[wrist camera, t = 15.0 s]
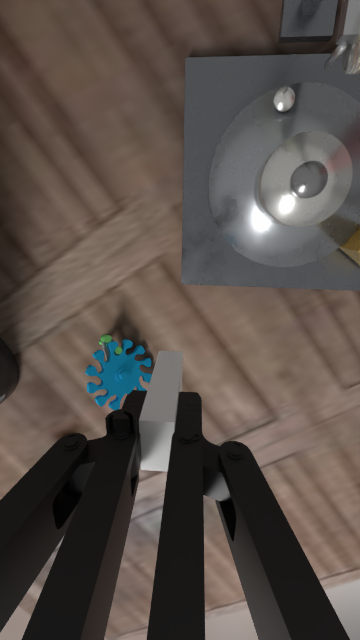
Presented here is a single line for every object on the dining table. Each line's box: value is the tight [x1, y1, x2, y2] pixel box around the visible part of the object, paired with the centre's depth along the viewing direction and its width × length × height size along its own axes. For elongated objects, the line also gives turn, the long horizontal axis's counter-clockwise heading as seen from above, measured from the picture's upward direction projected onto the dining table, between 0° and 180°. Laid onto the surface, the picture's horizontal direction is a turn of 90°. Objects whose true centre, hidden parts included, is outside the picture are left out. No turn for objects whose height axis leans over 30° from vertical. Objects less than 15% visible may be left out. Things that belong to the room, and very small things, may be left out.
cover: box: [254, 131, 353, 227], centre depth 29 cm, size 8×8×6 cm
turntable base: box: [182, 54, 360, 291], centre depth 34 cm, size 24×24×1 cm
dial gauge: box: [278, 0, 360, 74], centre depth 23 cm, size 5×12×15 cm, turn 179°
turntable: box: [209, 82, 360, 267], centre depth 31 cm, size 18×23×6 cm
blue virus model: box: [85, 335, 152, 410], centre depth 43 cm, size 11×6×10 cm
